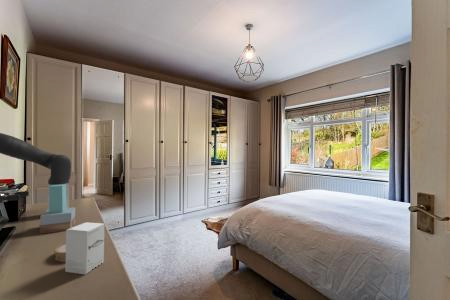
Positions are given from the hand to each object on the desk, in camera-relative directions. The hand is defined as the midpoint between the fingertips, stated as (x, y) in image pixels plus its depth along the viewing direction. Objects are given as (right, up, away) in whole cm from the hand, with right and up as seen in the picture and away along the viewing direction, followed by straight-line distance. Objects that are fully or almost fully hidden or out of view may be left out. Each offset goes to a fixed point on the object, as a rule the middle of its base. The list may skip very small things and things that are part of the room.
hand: (24, 195), depth 96 cm
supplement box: (+45, -16, -28) cm, 56 cm away
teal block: (+11, -8, +5) cm, 15 cm away
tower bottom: (+11, -17, +6) cm, 21 cm away
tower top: (+11, -13, +6) cm, 18 cm away
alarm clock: (+37, -17, -19) cm, 45 cm away
